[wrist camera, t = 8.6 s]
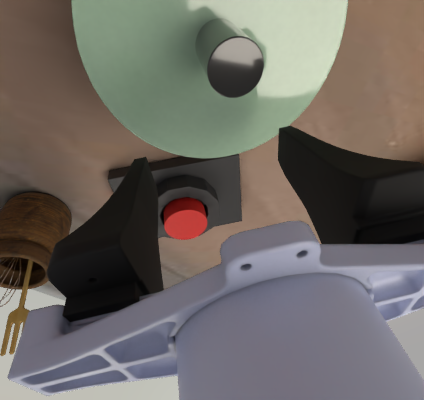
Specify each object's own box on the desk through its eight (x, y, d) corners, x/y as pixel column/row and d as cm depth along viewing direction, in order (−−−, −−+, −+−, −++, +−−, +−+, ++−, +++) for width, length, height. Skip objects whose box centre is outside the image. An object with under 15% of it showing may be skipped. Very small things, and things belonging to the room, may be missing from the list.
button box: (137, 233, 32) (136, 255, 29) (108, 170, 26) (105, 192, 23) (238, 212, 32) (246, 233, 30) (235, 146, 26) (244, 166, 24)
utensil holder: (62, 187, 26) (20, 308, 17) (80, 232, 30) (53, 348, 21) (-8, 191, 25) (-91, 323, 16) (21, 237, 29) (-33, 361, 20)
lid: (127, 166, 19) (123, 216, 16) (9, -142, 10) (-68, -193, 6) (316, 130, 20) (353, 170, 16) (370, -186, 11) (483, -253, 7)
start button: (168, 230, 28) (169, 243, 27) (159, 201, 26) (159, 215, 24) (206, 222, 28) (209, 234, 27) (201, 193, 26) (204, 206, 24)
